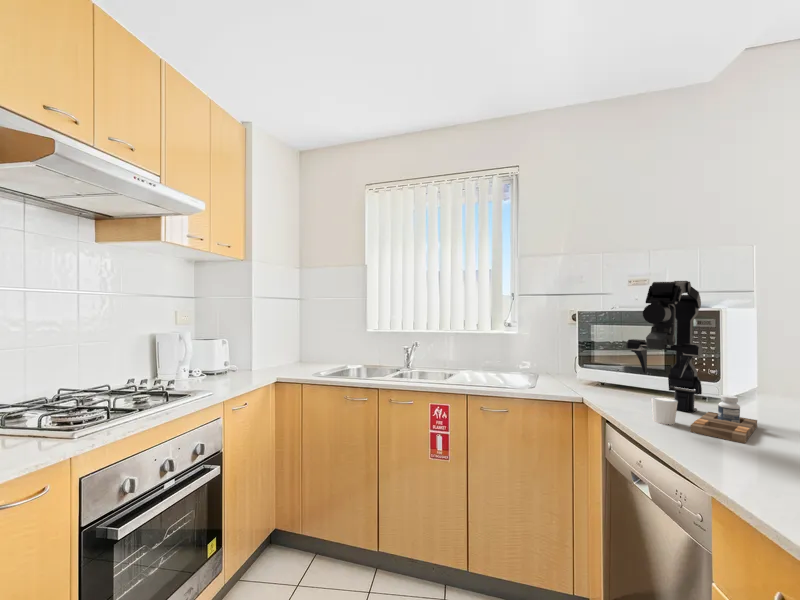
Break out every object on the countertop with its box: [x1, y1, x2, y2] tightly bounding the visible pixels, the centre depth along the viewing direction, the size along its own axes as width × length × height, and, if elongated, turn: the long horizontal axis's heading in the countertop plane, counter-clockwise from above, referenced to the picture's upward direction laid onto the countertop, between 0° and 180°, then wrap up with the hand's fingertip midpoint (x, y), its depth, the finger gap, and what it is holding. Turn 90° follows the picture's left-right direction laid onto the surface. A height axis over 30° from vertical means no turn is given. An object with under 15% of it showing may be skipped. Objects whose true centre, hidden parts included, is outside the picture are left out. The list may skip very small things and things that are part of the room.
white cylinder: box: [650, 396, 678, 426], centre depth 128 cm, size 7×7×7 cm
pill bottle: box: [717, 394, 741, 423], centre depth 127 cm, size 5×5×9 cm
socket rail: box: [690, 411, 758, 444], centre depth 122 cm, size 24×12×2 cm, turn 134°
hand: (662, 375), depth 126 cm, fingers open, 9 cm apart
